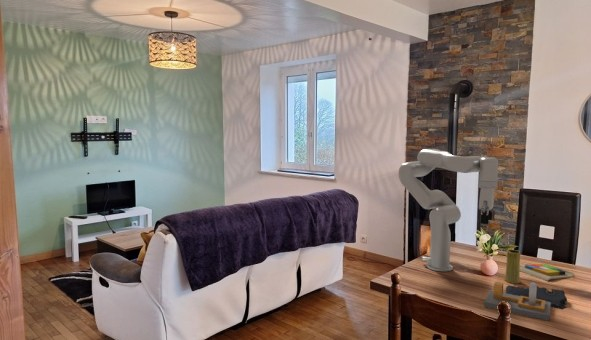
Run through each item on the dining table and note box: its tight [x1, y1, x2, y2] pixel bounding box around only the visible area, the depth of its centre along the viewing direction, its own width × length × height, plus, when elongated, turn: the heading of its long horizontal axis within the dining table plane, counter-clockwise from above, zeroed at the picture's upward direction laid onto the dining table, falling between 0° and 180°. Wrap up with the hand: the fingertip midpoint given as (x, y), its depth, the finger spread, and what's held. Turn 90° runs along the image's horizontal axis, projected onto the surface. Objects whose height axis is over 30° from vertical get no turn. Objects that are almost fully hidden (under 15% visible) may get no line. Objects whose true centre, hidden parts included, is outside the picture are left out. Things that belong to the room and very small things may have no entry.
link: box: [493, 281, 545, 312], centre depth 162 cm, size 18×9×6 cm, turn 56°
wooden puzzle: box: [520, 262, 575, 282], centre depth 201 cm, size 18×19×4 cm
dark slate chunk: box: [505, 284, 568, 310], centre depth 171 cm, size 15×22×5 cm
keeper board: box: [483, 281, 552, 322], centre depth 162 cm, size 22×14×11 cm, turn 56°
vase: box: [504, 249, 521, 284], centre depth 190 cm, size 6×6×14 cm
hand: (486, 221), depth 187 cm, fingers open, 9 cm apart
